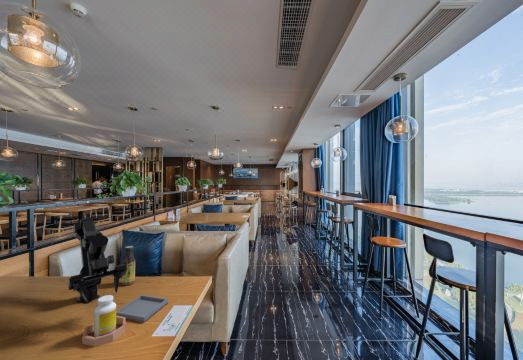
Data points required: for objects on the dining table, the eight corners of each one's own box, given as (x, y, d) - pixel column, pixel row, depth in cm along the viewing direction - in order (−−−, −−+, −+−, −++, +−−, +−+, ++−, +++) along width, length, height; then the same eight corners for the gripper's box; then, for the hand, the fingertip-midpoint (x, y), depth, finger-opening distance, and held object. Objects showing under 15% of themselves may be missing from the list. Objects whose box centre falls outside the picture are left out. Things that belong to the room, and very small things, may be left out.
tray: (114, 317, 92) (114, 312, 92) (141, 298, 106) (141, 294, 106) (144, 322, 88) (144, 317, 88) (168, 303, 102) (168, 298, 102)
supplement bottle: (120, 329, 84) (120, 295, 84) (102, 341, 78) (103, 304, 78) (107, 325, 86) (108, 292, 86) (89, 337, 80) (90, 301, 80)
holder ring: (73, 342, 77) (74, 334, 77) (106, 320, 89) (107, 313, 89) (103, 348, 74) (103, 341, 74) (133, 325, 87) (133, 318, 87)
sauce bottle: (128, 286, 118) (129, 249, 118) (118, 285, 119) (119, 248, 119) (137, 281, 124) (138, 245, 124) (128, 280, 125) (128, 244, 125)
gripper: (69, 255, 83) (73, 295, 75) (126, 245, 96) (134, 278, 88) (66, 270, 88) (69, 309, 80) (120, 259, 101) (128, 291, 94)
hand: (102, 296), depth 85 cm, fingers open, 9 cm apart
